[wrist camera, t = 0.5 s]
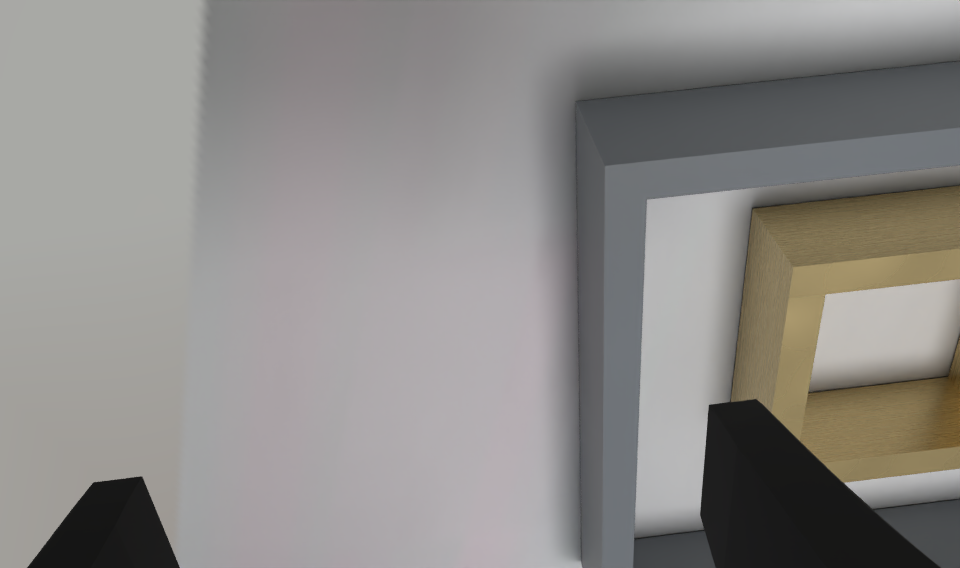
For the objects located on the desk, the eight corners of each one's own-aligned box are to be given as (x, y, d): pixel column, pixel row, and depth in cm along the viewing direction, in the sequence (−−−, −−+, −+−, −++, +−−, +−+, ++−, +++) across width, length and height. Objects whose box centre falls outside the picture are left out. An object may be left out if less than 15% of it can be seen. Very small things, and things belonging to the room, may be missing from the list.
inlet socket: (970, 395, 25) (1023, 460, 23) (728, 424, 25) (759, 492, 23) (1038, 177, 21) (1109, 231, 19) (752, 208, 21) (793, 267, 19)
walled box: (1060, 504, 28) (1126, 584, 26) (581, 563, 28) (601, 651, 25) (1261, 29, 20) (1389, 81, 17) (576, 101, 19) (605, 165, 17)
